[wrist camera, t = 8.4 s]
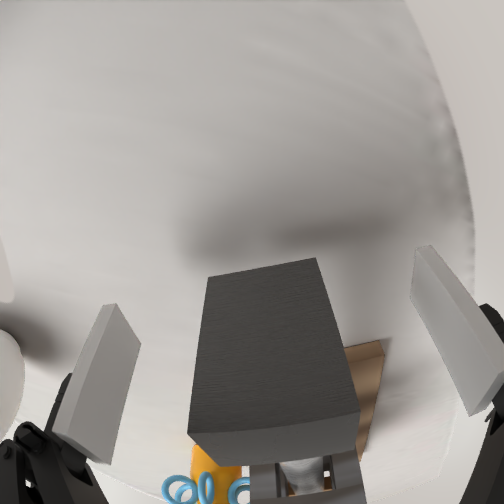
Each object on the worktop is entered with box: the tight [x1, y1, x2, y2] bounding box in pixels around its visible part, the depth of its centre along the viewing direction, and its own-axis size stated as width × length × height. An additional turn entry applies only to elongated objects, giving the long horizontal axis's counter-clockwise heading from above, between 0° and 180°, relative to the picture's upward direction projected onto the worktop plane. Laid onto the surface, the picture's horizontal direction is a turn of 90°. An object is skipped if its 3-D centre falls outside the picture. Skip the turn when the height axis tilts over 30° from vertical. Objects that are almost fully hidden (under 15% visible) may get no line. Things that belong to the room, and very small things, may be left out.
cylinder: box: [162, 444, 250, 504], centre depth 26 cm, size 12×10×15 cm
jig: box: [249, 340, 385, 504], centre depth 24 cm, size 26×14×12 cm, turn 12°
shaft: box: [187, 258, 361, 496], centre depth 16 cm, size 22×4×7 cm, turn 12°
